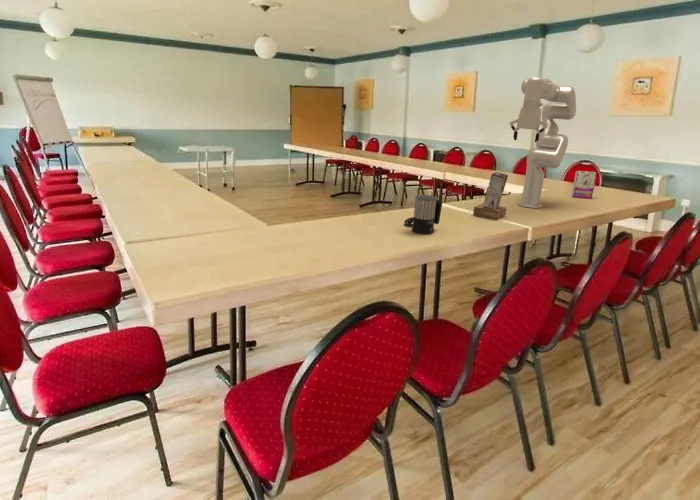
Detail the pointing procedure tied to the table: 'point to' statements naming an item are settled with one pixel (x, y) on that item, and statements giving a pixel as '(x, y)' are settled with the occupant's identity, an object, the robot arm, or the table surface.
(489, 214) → the walnut block
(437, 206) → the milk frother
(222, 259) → the table surface
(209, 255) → the table surface
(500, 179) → the coffee box
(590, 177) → the candy bar box
